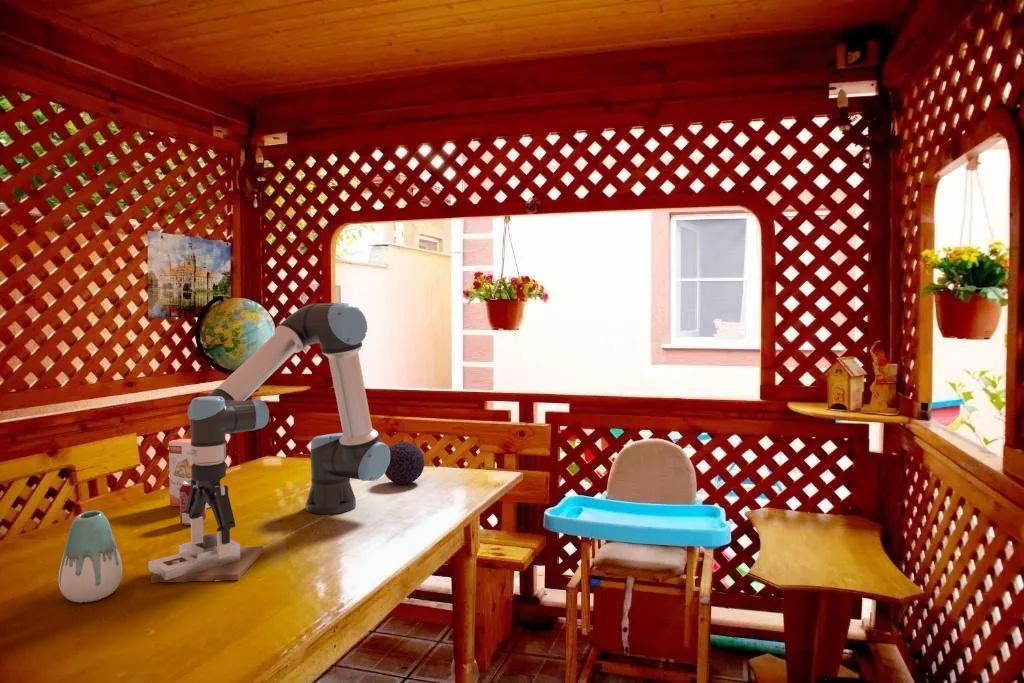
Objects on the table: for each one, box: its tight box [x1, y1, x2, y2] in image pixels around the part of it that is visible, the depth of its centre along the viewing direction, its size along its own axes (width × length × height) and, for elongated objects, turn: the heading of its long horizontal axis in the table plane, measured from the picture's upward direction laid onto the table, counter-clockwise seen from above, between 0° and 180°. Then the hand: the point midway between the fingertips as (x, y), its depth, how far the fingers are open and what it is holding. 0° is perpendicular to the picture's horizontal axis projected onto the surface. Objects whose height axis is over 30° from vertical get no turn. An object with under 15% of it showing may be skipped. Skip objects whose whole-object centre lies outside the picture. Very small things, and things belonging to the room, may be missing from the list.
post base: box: [150, 533, 264, 584], centre depth 164 cm, size 19×19×8 cm
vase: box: [58, 510, 123, 604], centre depth 147 cm, size 12×12×18 cm
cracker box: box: [168, 438, 211, 510], centre depth 218 cm, size 14×6×21 cm, turn 70°
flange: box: [148, 538, 241, 580], centre depth 162 cm, size 17×10×4 cm, turn 138°
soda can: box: [179, 480, 207, 526], centre depth 200 cm, size 7×7×12 cm
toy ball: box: [384, 441, 426, 485], centre depth 247 cm, size 15×15×15 cm
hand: (210, 550), depth 164 cm, fingers open, 13 cm apart
